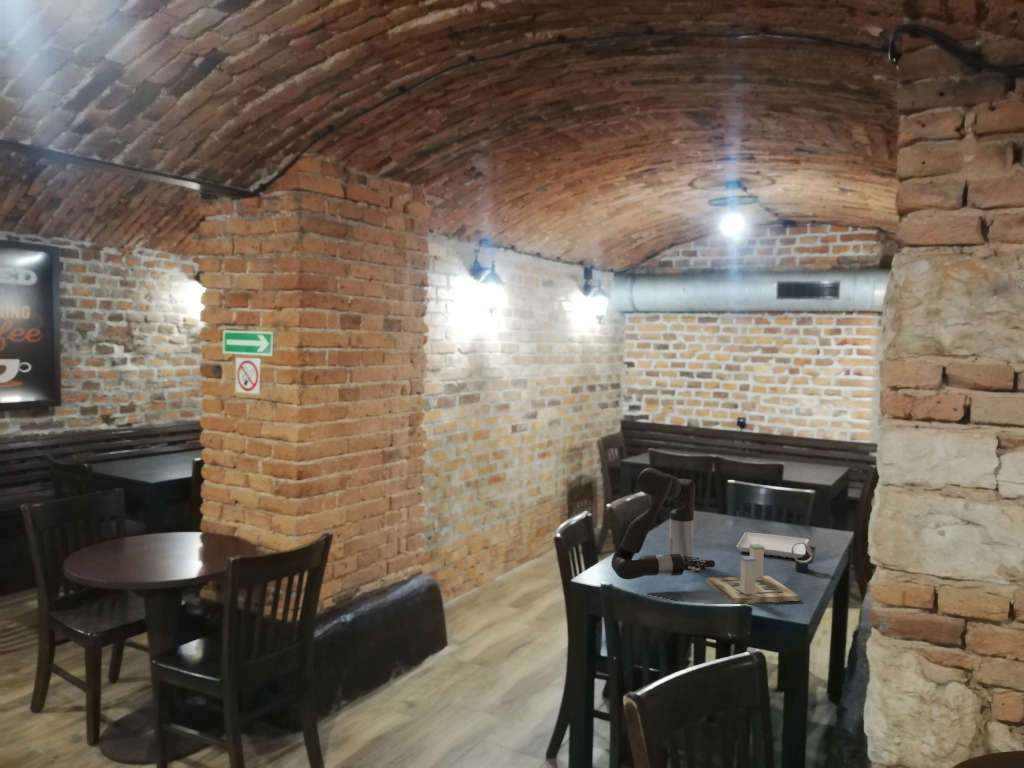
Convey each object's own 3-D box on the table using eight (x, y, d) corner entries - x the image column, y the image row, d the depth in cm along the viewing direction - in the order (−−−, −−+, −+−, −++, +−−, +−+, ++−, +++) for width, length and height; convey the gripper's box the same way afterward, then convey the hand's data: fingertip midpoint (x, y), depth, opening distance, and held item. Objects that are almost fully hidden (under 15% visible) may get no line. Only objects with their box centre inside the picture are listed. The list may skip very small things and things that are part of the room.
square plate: (809, 546, 331) (809, 537, 331) (804, 563, 306) (805, 553, 306) (744, 539, 343) (745, 530, 342) (735, 554, 318) (735, 545, 317)
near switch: (744, 594, 259) (745, 559, 258) (739, 590, 263) (740, 556, 262) (755, 594, 259) (756, 559, 258) (749, 589, 263) (750, 555, 263)
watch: (813, 573, 292) (814, 544, 291) (791, 571, 294) (791, 542, 294) (812, 569, 297) (813, 541, 297) (790, 567, 300) (791, 539, 299)
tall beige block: (753, 580, 274) (754, 547, 273) (748, 576, 278) (749, 544, 277) (763, 580, 274) (764, 547, 274) (758, 576, 279) (759, 544, 278)
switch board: (732, 604, 256) (732, 597, 256) (706, 583, 278) (706, 577, 278) (799, 601, 260) (799, 594, 260) (768, 581, 281) (768, 574, 281)
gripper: (675, 559, 264) (722, 558, 267) (661, 549, 277) (706, 548, 280) (674, 581, 264) (721, 579, 267) (661, 569, 278) (706, 568, 280)
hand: (713, 563), depth 273 cm, fingers closed
